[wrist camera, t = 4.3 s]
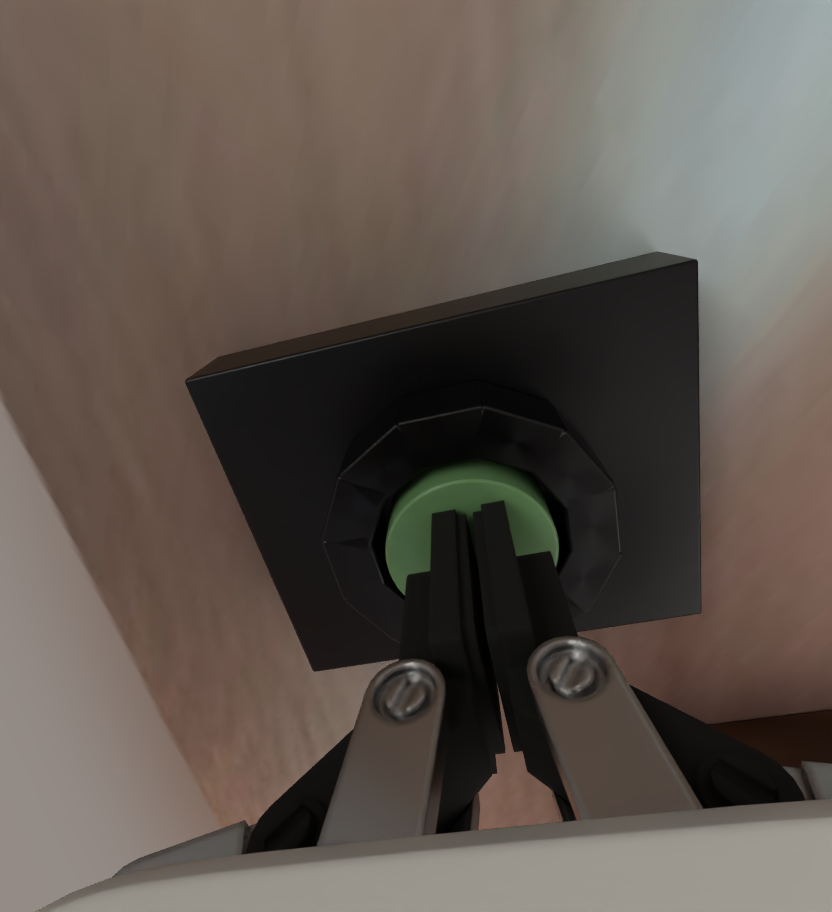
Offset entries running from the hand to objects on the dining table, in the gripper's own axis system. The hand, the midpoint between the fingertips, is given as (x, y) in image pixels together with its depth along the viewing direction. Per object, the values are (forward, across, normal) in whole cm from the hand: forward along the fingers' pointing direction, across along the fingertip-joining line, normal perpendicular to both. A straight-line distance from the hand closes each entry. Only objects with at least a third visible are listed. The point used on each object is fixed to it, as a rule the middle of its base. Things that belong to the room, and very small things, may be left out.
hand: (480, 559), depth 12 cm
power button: (+2, 0, 0) cm, 2 cm away
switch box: (+4, 0, 0) cm, 4 cm away
